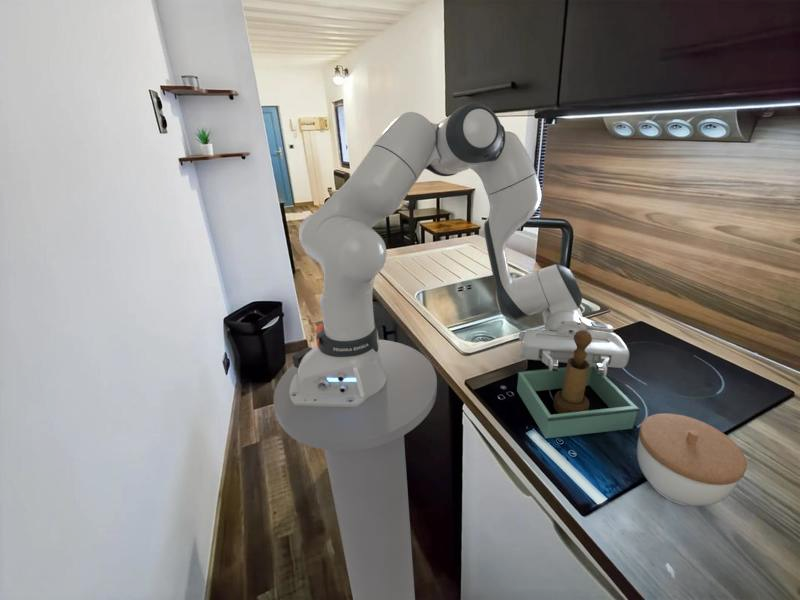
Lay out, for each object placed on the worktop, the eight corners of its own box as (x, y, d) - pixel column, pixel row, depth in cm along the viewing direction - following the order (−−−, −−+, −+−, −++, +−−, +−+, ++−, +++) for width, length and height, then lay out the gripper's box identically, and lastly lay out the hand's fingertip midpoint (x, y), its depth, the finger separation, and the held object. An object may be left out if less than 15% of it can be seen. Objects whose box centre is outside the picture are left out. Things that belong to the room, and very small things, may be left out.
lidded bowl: (642, 441, 66) (657, 392, 61) (733, 484, 57) (758, 431, 52) (616, 485, 58) (631, 433, 54) (716, 542, 50) (744, 486, 45)
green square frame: (545, 439, 67) (548, 418, 65) (515, 390, 80) (517, 371, 78) (633, 429, 68) (639, 408, 66) (590, 382, 81) (594, 363, 79)
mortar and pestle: (581, 424, 70) (597, 345, 63) (547, 410, 74) (559, 333, 67) (592, 406, 75) (608, 329, 67) (560, 393, 79) (572, 320, 71)
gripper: (519, 318, 83) (522, 351, 71) (620, 325, 78) (641, 362, 66) (517, 342, 86) (519, 377, 73) (614, 350, 80) (633, 390, 68)
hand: (577, 370), depth 70 cm, fingers open, 7 cm apart
